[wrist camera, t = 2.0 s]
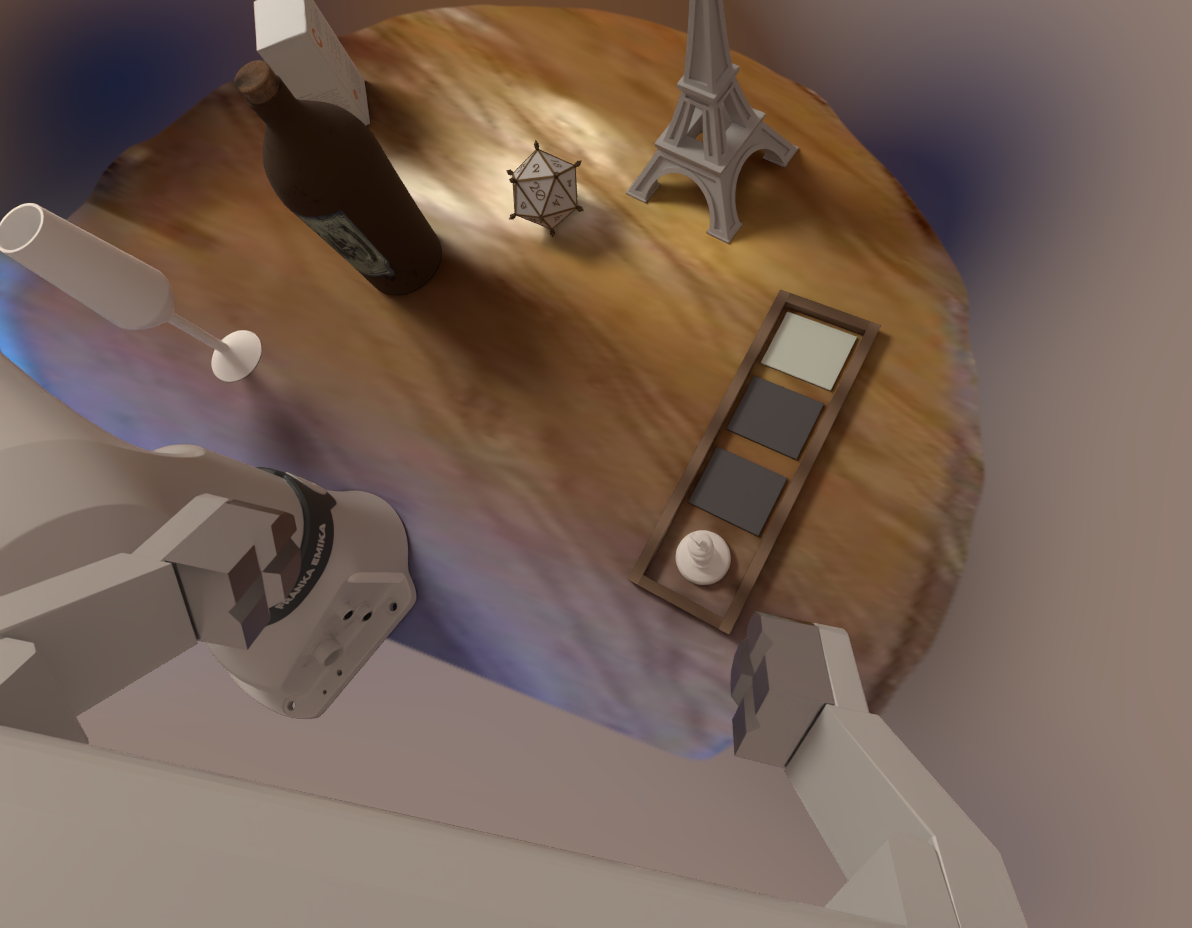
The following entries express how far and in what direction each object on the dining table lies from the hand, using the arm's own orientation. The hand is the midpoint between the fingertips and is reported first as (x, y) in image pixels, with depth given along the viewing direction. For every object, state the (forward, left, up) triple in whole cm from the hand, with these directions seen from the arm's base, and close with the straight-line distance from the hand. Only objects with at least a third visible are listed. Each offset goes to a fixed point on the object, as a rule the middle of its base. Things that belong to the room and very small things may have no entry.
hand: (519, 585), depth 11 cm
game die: (+34, +33, -47) cm, 67 cm away
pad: (+29, +1, -47) cm, 55 cm away
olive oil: (+22, +47, -47) cm, 70 cm away
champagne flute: (+3, +60, -47) cm, 77 cm away
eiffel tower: (+45, +19, -47) cm, 68 cm away
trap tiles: (+18, +1, -47) cm, 50 cm away
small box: (+38, +68, -47) cm, 91 cm away
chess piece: (+7, +1, -47) cm, 47 cm away
